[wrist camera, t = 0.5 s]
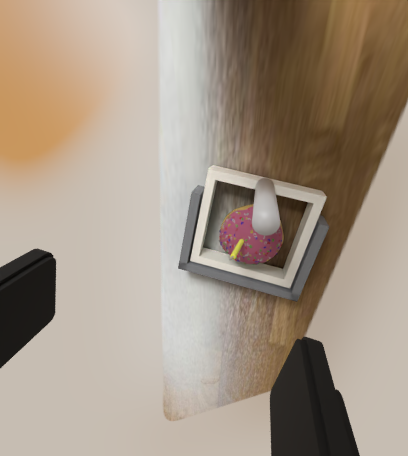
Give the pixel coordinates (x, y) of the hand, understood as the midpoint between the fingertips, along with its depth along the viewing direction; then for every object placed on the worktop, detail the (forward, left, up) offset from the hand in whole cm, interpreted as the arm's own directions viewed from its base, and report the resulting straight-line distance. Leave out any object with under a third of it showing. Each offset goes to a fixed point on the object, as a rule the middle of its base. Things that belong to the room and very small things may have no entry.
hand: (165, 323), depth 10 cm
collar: (+7, +4, -31) cm, 32 cm away
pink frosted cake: (+7, +4, -31) cm, 32 cm away
